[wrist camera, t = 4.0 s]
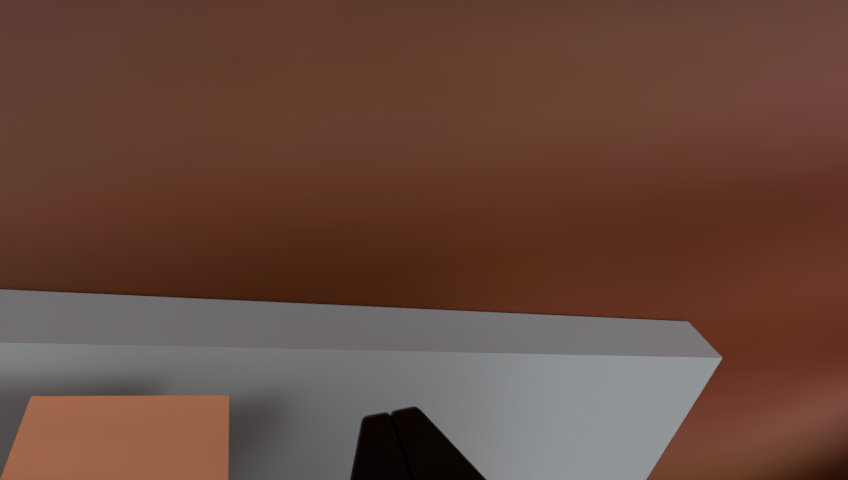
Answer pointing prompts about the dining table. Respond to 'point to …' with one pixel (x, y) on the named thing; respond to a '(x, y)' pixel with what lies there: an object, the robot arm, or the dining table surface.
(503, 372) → the board
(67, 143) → the dining table surface
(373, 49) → the dining table surface
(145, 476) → the flange plate
